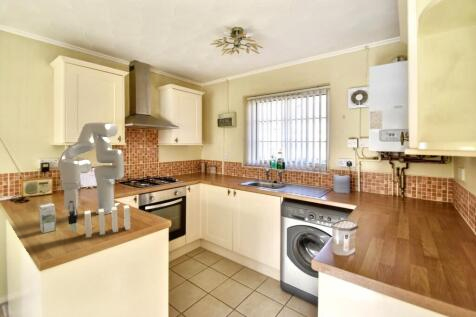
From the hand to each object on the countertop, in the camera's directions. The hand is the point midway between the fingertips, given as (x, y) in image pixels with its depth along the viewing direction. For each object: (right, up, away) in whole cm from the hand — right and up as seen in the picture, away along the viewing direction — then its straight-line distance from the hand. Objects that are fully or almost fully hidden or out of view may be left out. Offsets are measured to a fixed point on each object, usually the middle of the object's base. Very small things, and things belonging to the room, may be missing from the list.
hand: (73, 221), depth 114 cm
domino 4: (+20, -7, +14) cm, 26 cm away
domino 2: (+10, -8, +7) cm, 15 cm away
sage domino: (0, -4, 0) cm, 4 cm away
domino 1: (+5, -8, +4) cm, 11 cm away
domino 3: (+15, -8, +11) cm, 20 cm away
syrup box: (-20, -8, +9) cm, 24 cm away
